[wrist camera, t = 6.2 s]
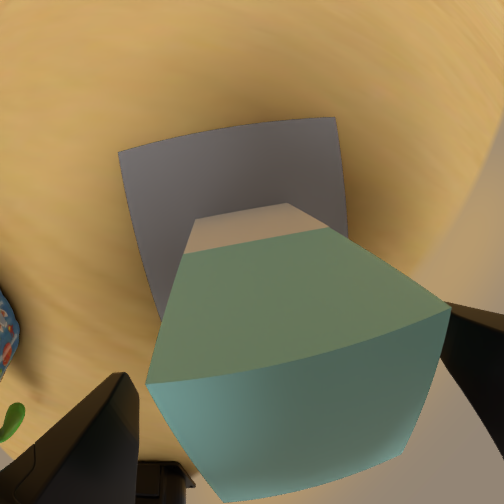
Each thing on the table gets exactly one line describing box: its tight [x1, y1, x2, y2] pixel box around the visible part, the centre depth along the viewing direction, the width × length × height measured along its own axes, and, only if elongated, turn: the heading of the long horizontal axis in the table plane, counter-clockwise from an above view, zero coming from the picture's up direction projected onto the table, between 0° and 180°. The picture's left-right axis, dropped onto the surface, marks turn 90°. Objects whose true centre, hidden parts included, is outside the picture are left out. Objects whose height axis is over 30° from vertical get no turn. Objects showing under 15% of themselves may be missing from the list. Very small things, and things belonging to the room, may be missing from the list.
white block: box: [184, 203, 329, 254], centre depth 13 cm, size 5×5×6 cm
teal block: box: [145, 227, 452, 503], centre depth 7 cm, size 5×5×6 cm
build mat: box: [118, 117, 348, 322], centre depth 16 cm, size 14×12×1 cm
